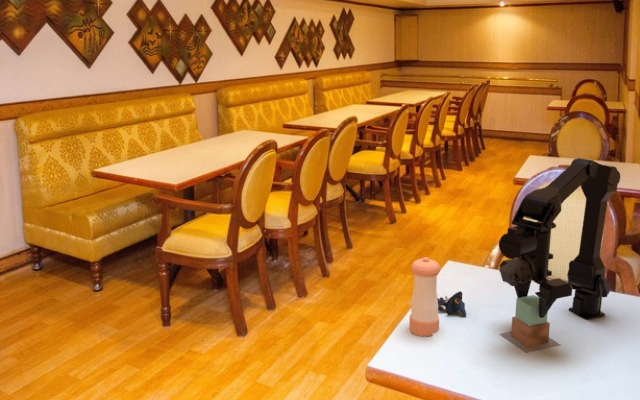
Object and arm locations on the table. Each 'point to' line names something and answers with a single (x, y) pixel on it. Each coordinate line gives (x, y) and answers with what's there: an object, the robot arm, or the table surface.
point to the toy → (453, 304)
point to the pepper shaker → (424, 298)
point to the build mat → (533, 348)
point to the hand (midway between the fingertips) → (531, 311)
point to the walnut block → (530, 333)
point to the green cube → (529, 310)
